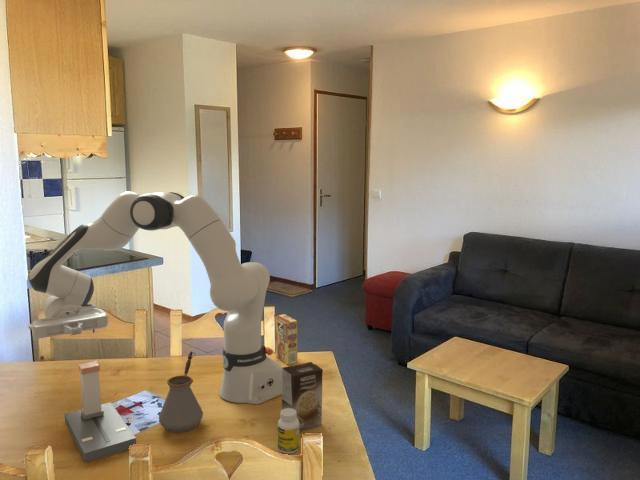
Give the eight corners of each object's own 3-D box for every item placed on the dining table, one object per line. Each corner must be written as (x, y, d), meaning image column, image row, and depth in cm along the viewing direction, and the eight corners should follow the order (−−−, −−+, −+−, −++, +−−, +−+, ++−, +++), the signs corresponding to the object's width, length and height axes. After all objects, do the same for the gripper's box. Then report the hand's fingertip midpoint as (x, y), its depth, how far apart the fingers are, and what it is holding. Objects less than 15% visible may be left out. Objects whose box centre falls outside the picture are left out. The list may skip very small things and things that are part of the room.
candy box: (298, 363, 189) (298, 320, 186) (287, 365, 186) (287, 322, 184) (285, 354, 196) (285, 313, 193) (274, 357, 194) (274, 315, 191)
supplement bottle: (273, 451, 135) (273, 414, 133) (283, 440, 140) (283, 404, 138) (294, 456, 133) (294, 418, 131) (302, 445, 138) (302, 408, 136)
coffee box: (292, 434, 143) (292, 376, 140) (281, 423, 148) (280, 367, 145) (322, 425, 147) (323, 369, 144) (310, 415, 153) (310, 360, 150)
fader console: (111, 410, 154) (110, 401, 154) (136, 447, 136) (135, 437, 135) (65, 422, 148) (64, 413, 147) (85, 463, 129) (84, 452, 129)
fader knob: (100, 408, 149) (96, 360, 147) (104, 414, 146) (100, 365, 144) (80, 413, 147) (77, 364, 144) (84, 419, 143) (80, 369, 141)
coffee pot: (198, 436, 141) (196, 382, 138) (153, 436, 141) (151, 382, 138) (213, 398, 162) (211, 350, 159) (174, 398, 162) (172, 350, 159)
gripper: (26, 314, 158) (33, 327, 147) (100, 303, 170) (112, 315, 159) (28, 335, 159) (35, 350, 148) (101, 322, 171) (113, 335, 160)
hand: (76, 331), depth 154 cm, fingers closed
